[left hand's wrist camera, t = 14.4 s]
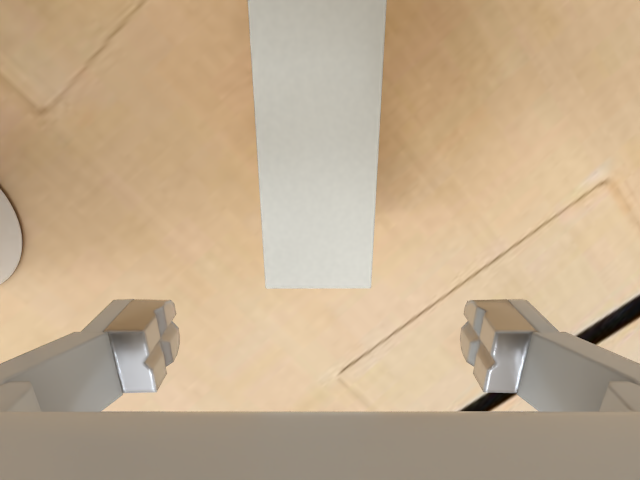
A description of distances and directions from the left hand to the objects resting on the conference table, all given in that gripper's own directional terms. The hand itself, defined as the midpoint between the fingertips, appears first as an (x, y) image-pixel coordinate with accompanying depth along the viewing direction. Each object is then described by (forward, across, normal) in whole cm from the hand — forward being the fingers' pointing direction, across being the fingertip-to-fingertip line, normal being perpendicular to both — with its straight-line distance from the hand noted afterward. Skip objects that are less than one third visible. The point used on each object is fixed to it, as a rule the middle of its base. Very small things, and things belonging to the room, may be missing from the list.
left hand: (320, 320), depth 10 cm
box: (+23, 0, -8) cm, 25 cm away
